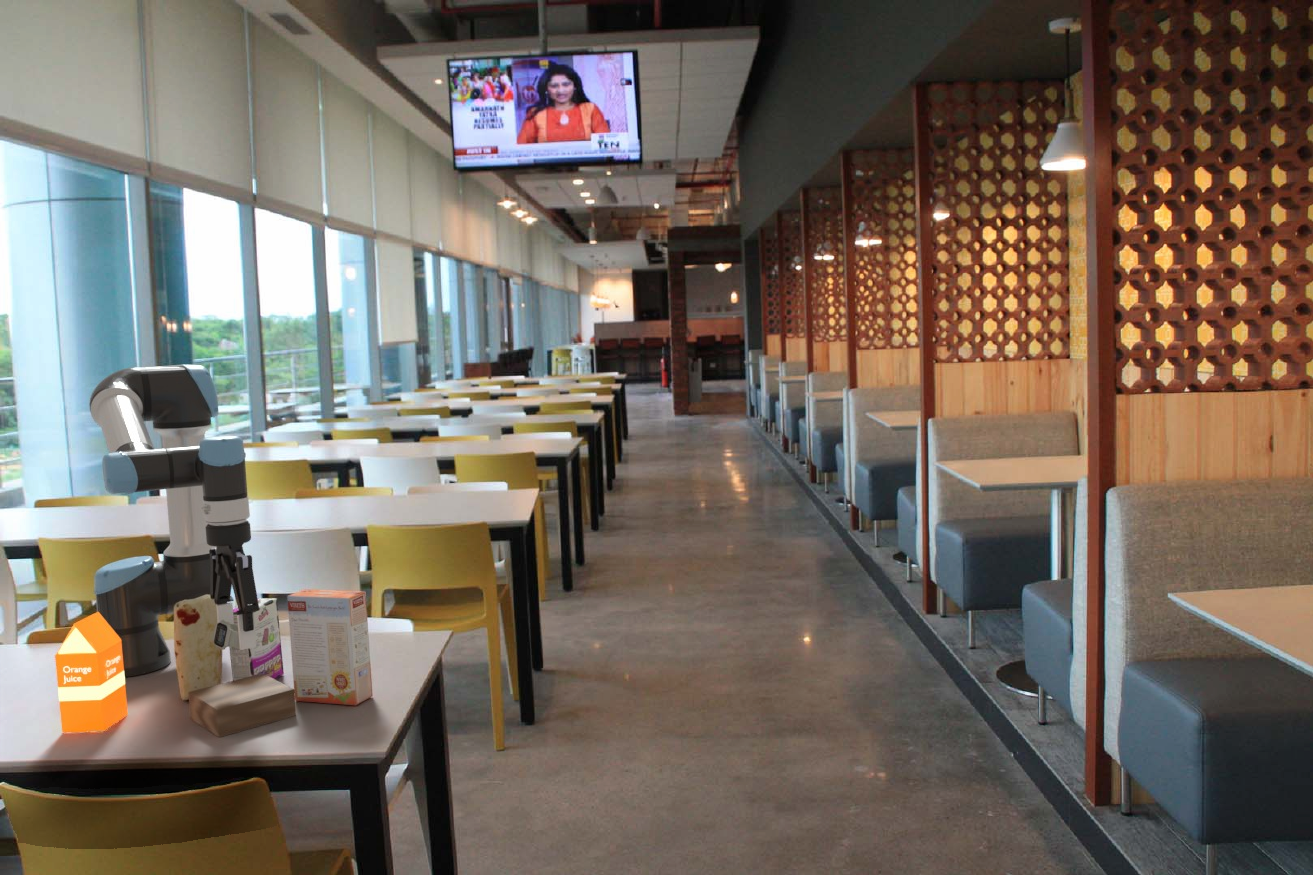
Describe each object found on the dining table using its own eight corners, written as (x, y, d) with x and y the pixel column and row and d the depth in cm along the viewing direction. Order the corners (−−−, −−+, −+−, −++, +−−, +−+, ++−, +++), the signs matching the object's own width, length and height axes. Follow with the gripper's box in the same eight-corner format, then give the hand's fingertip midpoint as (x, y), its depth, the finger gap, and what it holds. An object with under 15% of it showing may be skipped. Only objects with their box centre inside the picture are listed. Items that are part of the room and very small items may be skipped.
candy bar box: (262, 674, 219) (256, 597, 218) (284, 675, 218) (278, 597, 217) (231, 692, 208) (224, 611, 207) (254, 693, 207) (247, 611, 206)
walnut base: (190, 718, 194) (188, 692, 194) (264, 698, 204) (262, 673, 203) (219, 737, 184) (217, 709, 184) (296, 715, 194) (294, 688, 193)
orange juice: (61, 733, 189) (51, 625, 187) (87, 715, 198) (78, 612, 196) (104, 731, 189) (95, 623, 187) (129, 714, 198) (119, 610, 196)
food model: (193, 706, 201) (185, 603, 199) (169, 702, 204) (160, 601, 202) (234, 690, 210) (226, 591, 208) (210, 686, 213) (202, 589, 211)
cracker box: (374, 696, 203) (367, 590, 201) (355, 707, 197) (348, 597, 195) (313, 691, 207) (306, 587, 205) (293, 701, 202) (285, 594, 200)
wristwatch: (206, 645, 193) (203, 618, 192) (238, 637, 198) (236, 611, 197) (232, 653, 187) (230, 626, 187) (264, 644, 192) (262, 617, 192)
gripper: (184, 518, 196) (194, 636, 198) (230, 531, 180) (240, 659, 182) (225, 513, 201) (234, 628, 203) (272, 524, 185) (282, 649, 187)
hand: (237, 642), depth 193 cm, fingers closed on wristwatch, 9 cm apart
